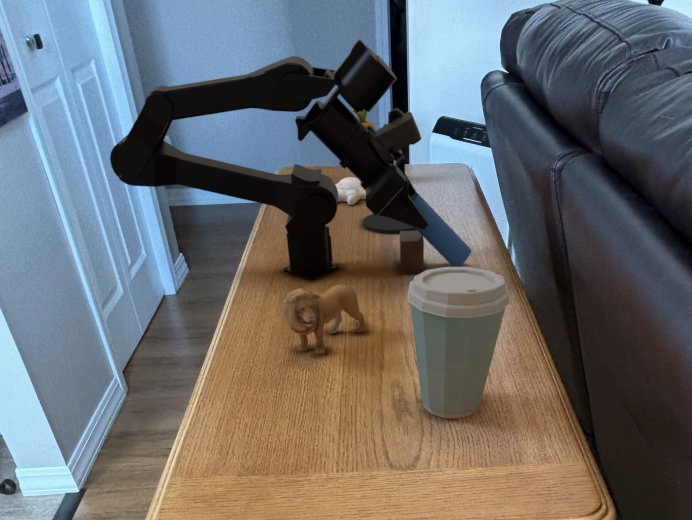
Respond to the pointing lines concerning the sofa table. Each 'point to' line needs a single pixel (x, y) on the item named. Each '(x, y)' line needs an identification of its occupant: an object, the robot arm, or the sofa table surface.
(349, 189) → the white turtle figurine
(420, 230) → the tube
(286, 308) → the lion figurine
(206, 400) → the sofa table surface
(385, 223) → the coaster
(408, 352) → the sofa table surface
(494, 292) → the disposable coffee cup
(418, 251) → the lean block
